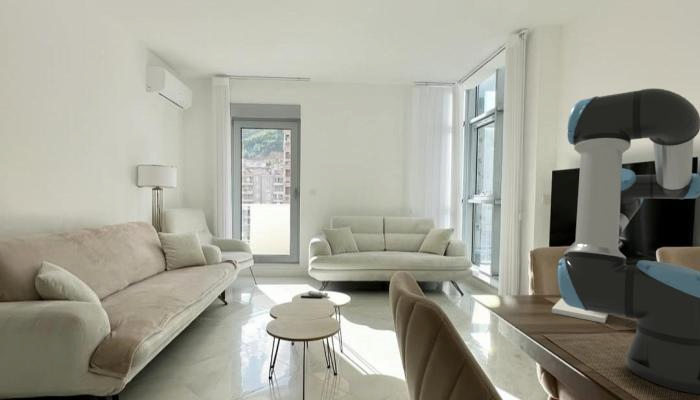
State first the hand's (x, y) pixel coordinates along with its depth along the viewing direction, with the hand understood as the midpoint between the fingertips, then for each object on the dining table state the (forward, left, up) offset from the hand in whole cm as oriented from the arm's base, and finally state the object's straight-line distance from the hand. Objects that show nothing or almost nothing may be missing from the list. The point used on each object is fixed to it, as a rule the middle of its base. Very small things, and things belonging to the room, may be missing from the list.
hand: (574, 277), depth 114 cm
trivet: (+3, -2, -12) cm, 12 cm away
